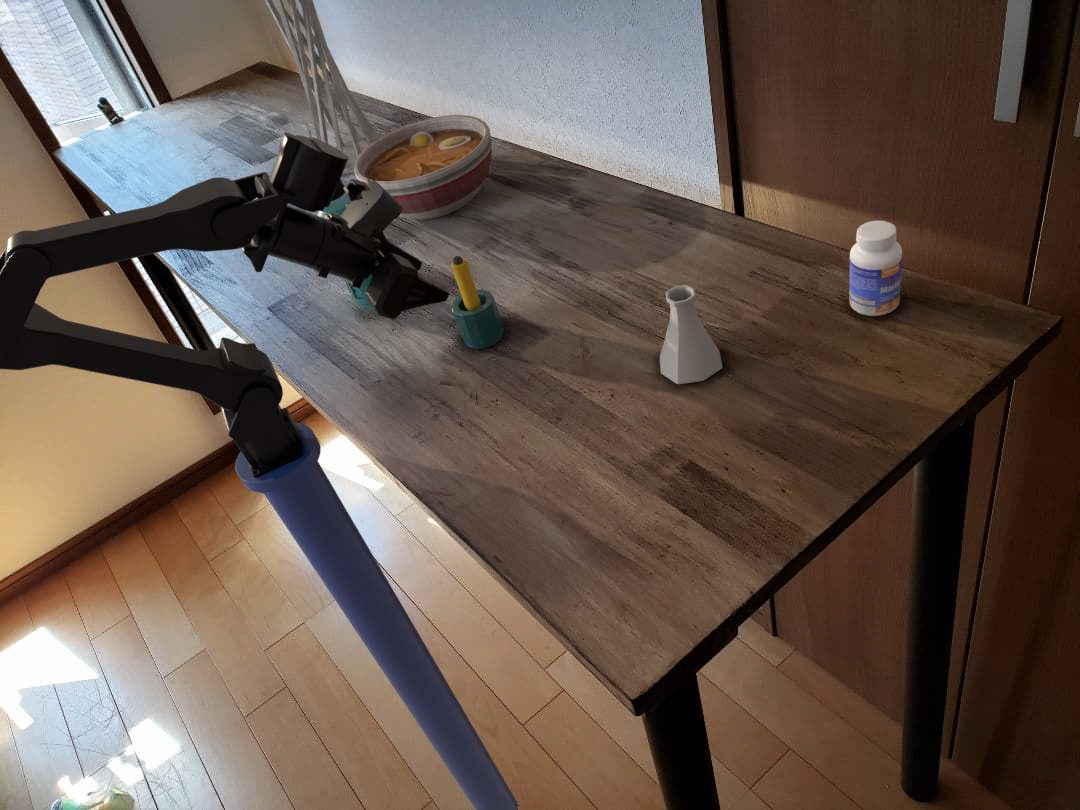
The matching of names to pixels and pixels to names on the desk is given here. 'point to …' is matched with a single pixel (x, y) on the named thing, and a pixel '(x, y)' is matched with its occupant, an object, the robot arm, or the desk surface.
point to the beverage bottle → (338, 208)
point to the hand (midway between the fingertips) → (433, 280)
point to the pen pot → (479, 321)
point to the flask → (687, 341)
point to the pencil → (465, 283)
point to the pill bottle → (875, 269)
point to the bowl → (430, 164)
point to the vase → (334, 76)
